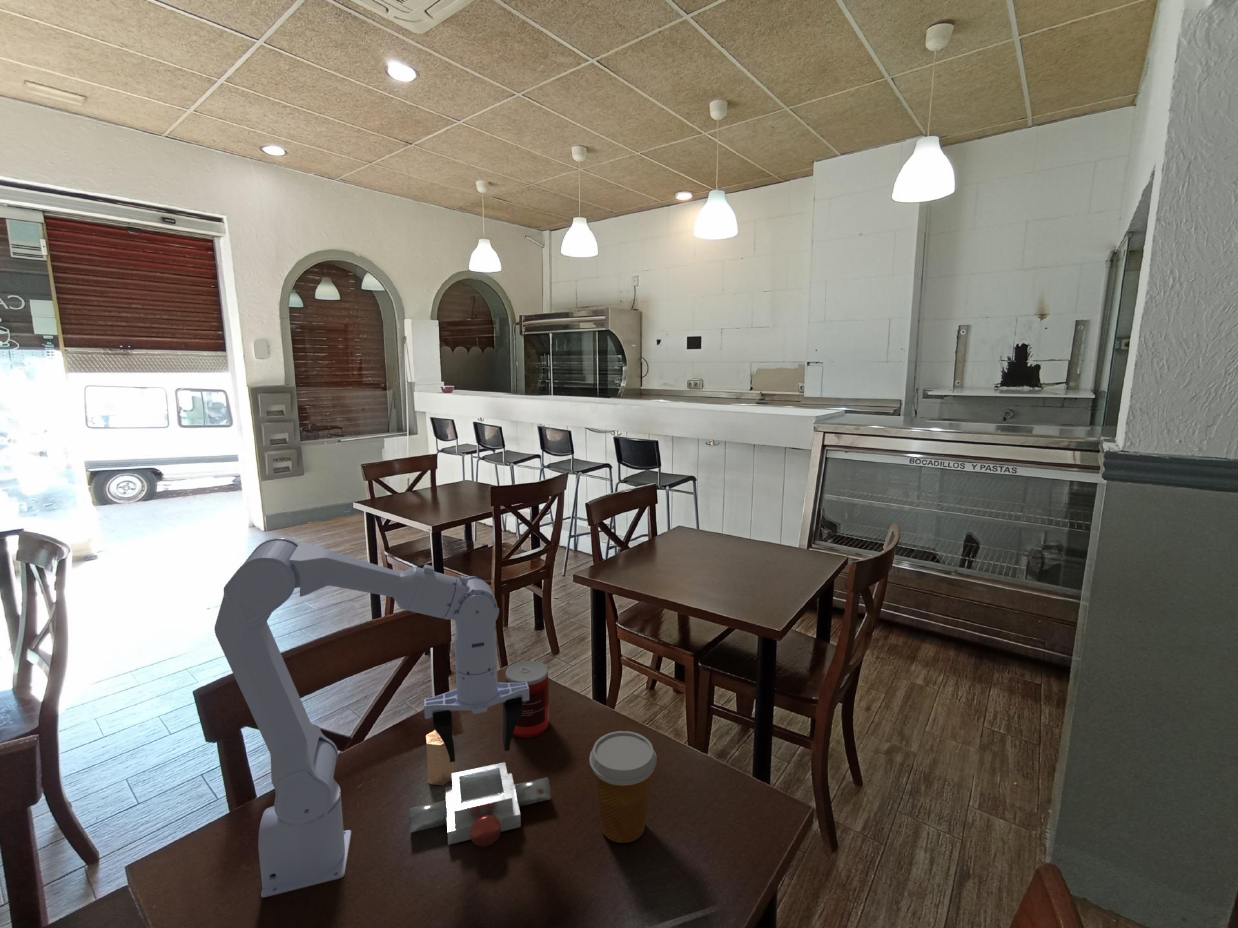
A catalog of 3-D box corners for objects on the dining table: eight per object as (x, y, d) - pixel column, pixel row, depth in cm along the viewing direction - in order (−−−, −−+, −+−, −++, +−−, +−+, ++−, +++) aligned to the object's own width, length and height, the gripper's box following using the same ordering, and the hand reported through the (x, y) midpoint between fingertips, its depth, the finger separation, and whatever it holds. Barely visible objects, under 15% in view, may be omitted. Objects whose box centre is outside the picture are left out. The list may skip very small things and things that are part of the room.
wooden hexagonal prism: (429, 788, 89) (427, 747, 88) (427, 769, 93) (425, 730, 92) (455, 781, 90) (453, 741, 89) (452, 763, 94) (451, 725, 93)
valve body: (409, 868, 74) (407, 838, 73) (411, 807, 85) (409, 779, 84) (558, 830, 80) (558, 801, 80) (543, 777, 91) (542, 751, 90)
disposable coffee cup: (579, 841, 78) (578, 762, 77) (604, 794, 87) (604, 723, 85) (644, 861, 75) (645, 779, 73) (663, 810, 84) (664, 736, 82)
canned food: (527, 708, 110) (526, 656, 108) (558, 723, 105) (557, 668, 104) (497, 728, 104) (495, 672, 102) (528, 744, 99) (527, 686, 98)
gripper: (422, 687, 74) (427, 781, 76) (532, 669, 79) (534, 758, 81) (422, 662, 81) (427, 749, 83) (523, 647, 85) (525, 729, 87)
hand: (479, 751), depth 82 cm, fingers open, 7 cm apart
